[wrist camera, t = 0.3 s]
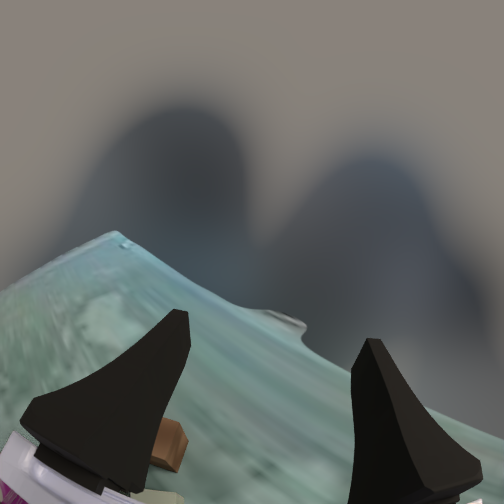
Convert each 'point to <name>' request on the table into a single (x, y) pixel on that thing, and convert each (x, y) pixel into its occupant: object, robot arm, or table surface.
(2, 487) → the candy bar box
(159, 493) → the sage block
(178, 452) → the walnut block
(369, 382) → the robot arm
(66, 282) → the table surface
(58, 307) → the table surface
